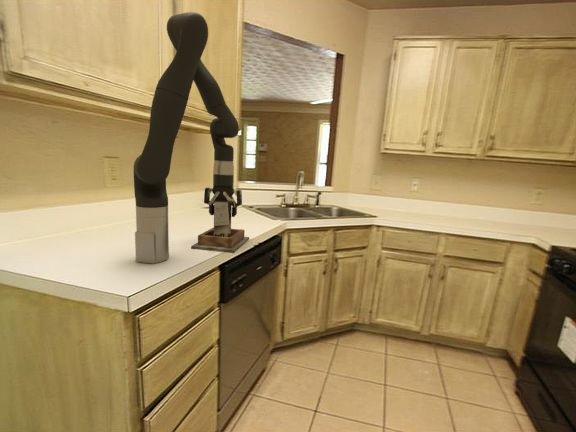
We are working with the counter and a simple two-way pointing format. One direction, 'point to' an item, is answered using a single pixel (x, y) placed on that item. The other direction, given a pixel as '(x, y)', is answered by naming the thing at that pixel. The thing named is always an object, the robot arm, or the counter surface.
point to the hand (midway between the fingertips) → (222, 215)
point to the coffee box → (222, 218)
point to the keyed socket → (221, 241)
